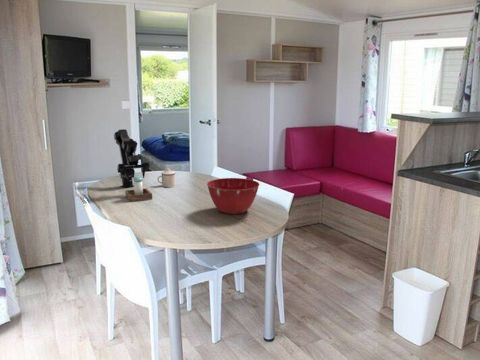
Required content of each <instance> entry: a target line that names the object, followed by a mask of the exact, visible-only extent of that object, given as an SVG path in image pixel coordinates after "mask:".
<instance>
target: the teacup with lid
mask: <svg viewBox="0 0 480 360" xmlns="http://www.w3.org/2000/svg"><path fill="white" fill-rule="evenodd" d="M160 174H161V175H159V176H158V177H157V182H158V183H159V184H161V186H162V188H173V187H175V186H176V172H175V171H172V170H171V169H170V168H166V170H164V171H162V172H161V173H160ZM160 178H161V181H160V180H159V179H160Z"/></svg>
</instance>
